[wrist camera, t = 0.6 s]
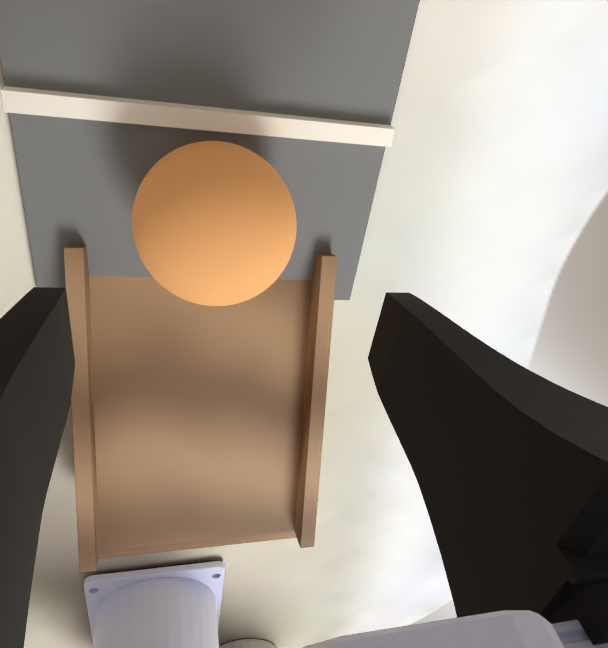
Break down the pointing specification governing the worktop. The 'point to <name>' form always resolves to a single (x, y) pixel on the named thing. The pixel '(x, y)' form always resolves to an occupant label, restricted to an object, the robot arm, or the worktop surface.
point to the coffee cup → (248, 644)
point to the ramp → (195, 412)
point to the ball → (214, 223)
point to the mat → (198, 113)
